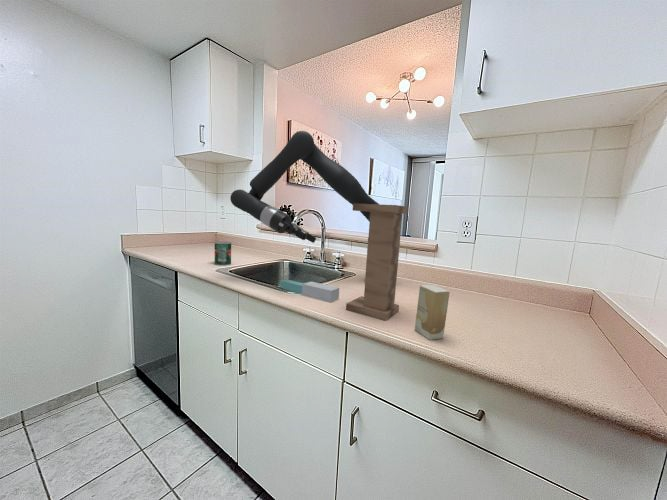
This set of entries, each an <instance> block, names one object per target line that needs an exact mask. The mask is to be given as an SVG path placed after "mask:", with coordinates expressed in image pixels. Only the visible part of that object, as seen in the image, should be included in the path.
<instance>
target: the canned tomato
mask: <svg viewBox="0 0 667 500" xmlns="http://www.w3.org/2000/svg"><path fill="white" fill-rule="evenodd" d="M214 265H215V266H230V265H232V242H230V241H215V242H214Z"/></svg>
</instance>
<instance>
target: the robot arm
mask: <svg viewBox="0 0 667 500" xmlns="http://www.w3.org/2000/svg"><path fill="white" fill-rule="evenodd" d="M300 160H301V161H302V162H304V163H305V164H307V165H308V167H311V168H312V169H313V170H314V171H315V172H316V173H317V174H318V175H319V176H320V177H321V178H322V180H323V181H324V182H325V183H326V184H327V185H328V186H329V187H330V188H332V190H333V191H335V192H336V193H337V194H338V196H341V198H343V199H344V200H346V201H347V202H348V203H349V204H351V205H352V206H353V204H379V203H378V202H377V201H376V200H375V199H373V198H372V197H371V196H370V195H369V194H368V193H367V192H366V191H365V189H364V188H363V186H362V184H361V183H360V181H358V179H357V178H356V177H355V176H354V175H353V174H352V173H351V172H349V171H348V169H346V167H344V166H342V165H341V164H339V163H338V162H337V161H335V160H333V159H332V158H329V156H327V155H326V154H325V153H324V152H323V151H322V150H321V149H320V148H319V147H318V146H317V145H316V144H315V140H314V137H313V136H312V135H311V134H310V133H309V132H308V131H306V130H298V131H296V132H295V133H294V134H292V135H291V137H290V138H289V140H288V142H287V143H286V144H285V146H284V147H282V149H281V151H280V152H279V153H278V154H277V156H275V157H274V158H273V160H272V161H270V162H269V163H268V164H266V166H265V167H264V168H262V169H261V171H259V172H258V173H257V174H256V175H255V176H254V177H253V178H252V179H251V180H250V182H249V187H250V190H249V191H248V192H247V191H246V190H244V189H236V190H234V191H232V192H231V194H230V199H229V200H230V202H231V204H232V205H233V206H234V207H235V208H237V209H238V210H241V211H243V212H245V213H247V214H249V215H250V216H251V217H253V218H254V219H256V220H257V221H260V222H261V223H262V224H264V225H265V226H266V227H268V228H269V229H271V230H273V231H275V232H277V233H279V234H285V233H287V234H289V235H291V236H293V237H297V238H299V239H300V240H302V241H305V240H307V241H309V242H310V243H312V244H314V243H315V242H316V240H317V237H316V236H314V235H313V234H311V233H310V232H309V231H307V230H305V229H304V228H303V227H301V226H299V225H298V224H296V223H294V222H292V217H291V216H290V215H289V214H288V213H286V212H284V211H282V210H280V209H278V208H277V207H276V206H275V207H274V206H272V205H271V204H268V203H267V202H264V201H262V199H263V197H264V196H265V194H266V193H267V192H269V190H270V189H272V188H273V187H274V185H275V184H276V183H277V182H278V181H280V179H281V178H282V176H283V175H285V173H286V172H287V171H288V170H289V169H290V168H291V167H292V166H294V164H296V163H297V162H298V161H300ZM359 212H360V214H362V216H364V217H365V219H366V220H367V221H368V222H369V223H370V212H366V211H359ZM366 247H367V248H366V251H367V250H368V245H367V246H366ZM365 260H366V262H365V264H366V263H367V259H365ZM364 276H365V277H366V272H365V274H364ZM365 277H364V278H365Z"/></svg>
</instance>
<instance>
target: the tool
mask: <svg viewBox="0 0 667 500" xmlns="http://www.w3.org/2000/svg"><path fill="white" fill-rule="evenodd" d="M279 283H280V284H279V288H280V287H281V288H283V289H282V290H284V289H285V291H289V290H290V291H289V292H291V293H296V294H300V295H301V296H304V297H308V298H312V299H315V300H320V301H323V302H327V303H334V302H336V301H338V300H339V299H340V287H337V286H334V285H329V284H324V283H320V282H315V281H308V282H299V281H295V280H291V279H287V278H286V279H281V280H280V282H279Z"/></svg>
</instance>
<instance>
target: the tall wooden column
mask: <svg viewBox="0 0 667 500" xmlns="http://www.w3.org/2000/svg"><path fill="white" fill-rule="evenodd" d="M352 211H353V212H355V211H356V212H360V211H366V212H370V222H369V226H368V236H367V246H368V250H367V249H366V260H367V263H366V262H365V273H366V277H364V293H363V296H359V297H357V298H355V299H352V300H351V301H349V302H347V303H345V311H348V312H353V313H356V314H360V315H363V316H367V317H371V318H375V319H378V320H382V321H384V322H386V321H389V320H390V318H392V317H393V316H394V315H395V314H397V313H398V312H399V307H400V305H399V304H395V301H396V300H395V298H396V289H397V279H398V278H397V277H398V267H399V256H400V244H401V237H402V235H401V233H402V224H403V221H402V220H403V215H404V214H405V215H407V214H408V212H409V206H404V205H397V204H381V203H378V204H353V205H352Z"/></svg>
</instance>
